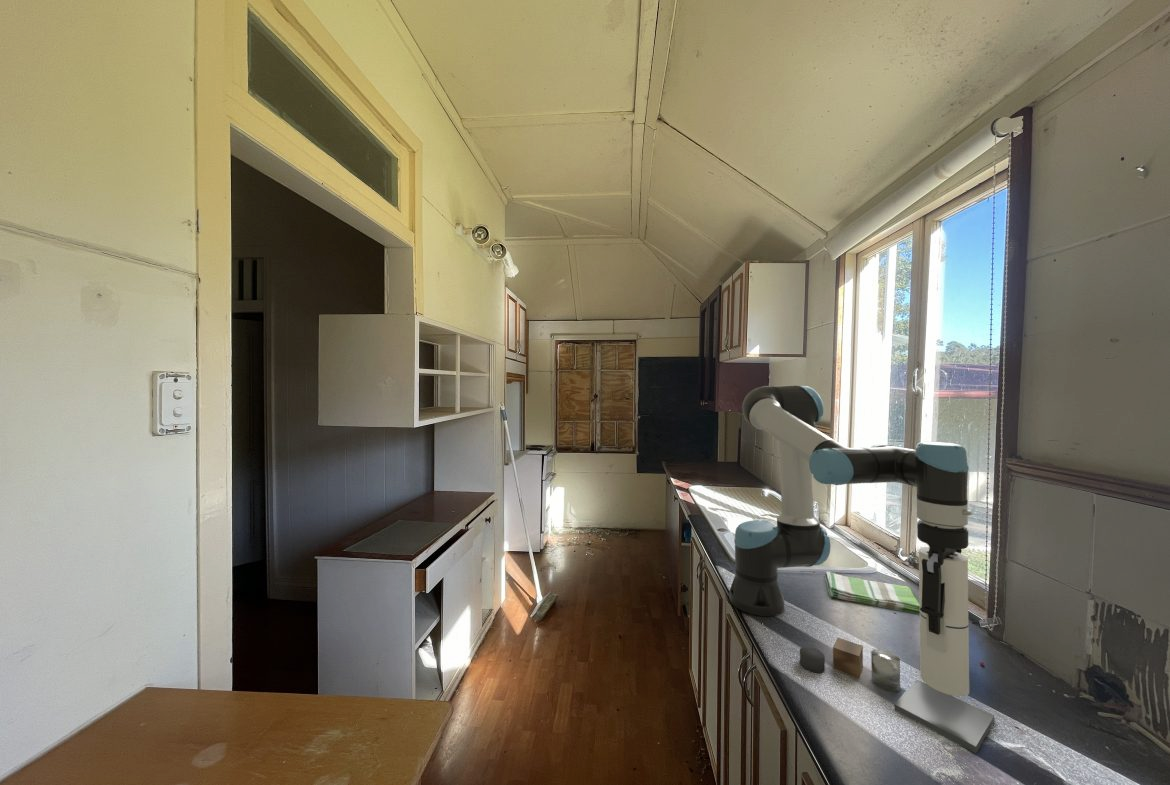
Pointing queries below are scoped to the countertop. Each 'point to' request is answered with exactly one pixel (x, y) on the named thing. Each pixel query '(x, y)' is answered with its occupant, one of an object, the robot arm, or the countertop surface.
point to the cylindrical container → (948, 630)
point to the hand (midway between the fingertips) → (943, 641)
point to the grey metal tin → (885, 670)
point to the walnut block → (848, 657)
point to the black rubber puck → (812, 660)
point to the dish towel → (872, 593)
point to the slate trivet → (946, 715)
